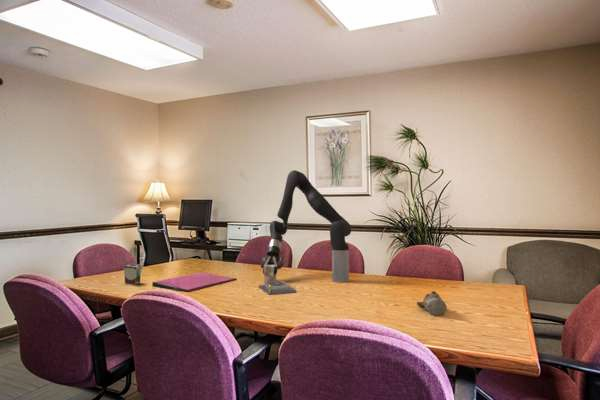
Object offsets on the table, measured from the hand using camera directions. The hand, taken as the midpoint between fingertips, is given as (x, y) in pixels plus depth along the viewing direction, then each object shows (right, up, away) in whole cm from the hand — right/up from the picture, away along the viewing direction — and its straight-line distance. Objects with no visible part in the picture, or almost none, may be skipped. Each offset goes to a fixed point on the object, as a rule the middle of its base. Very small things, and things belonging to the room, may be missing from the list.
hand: (269, 273), depth 219 cm
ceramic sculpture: (+69, -4, -60) cm, 92 cm away
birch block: (0, -5, +2) cm, 5 cm away
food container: (-73, -5, 0) cm, 73 cm away
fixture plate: (+5, -5, -18) cm, 20 cm away
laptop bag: (-41, -6, -2) cm, 42 cm away
